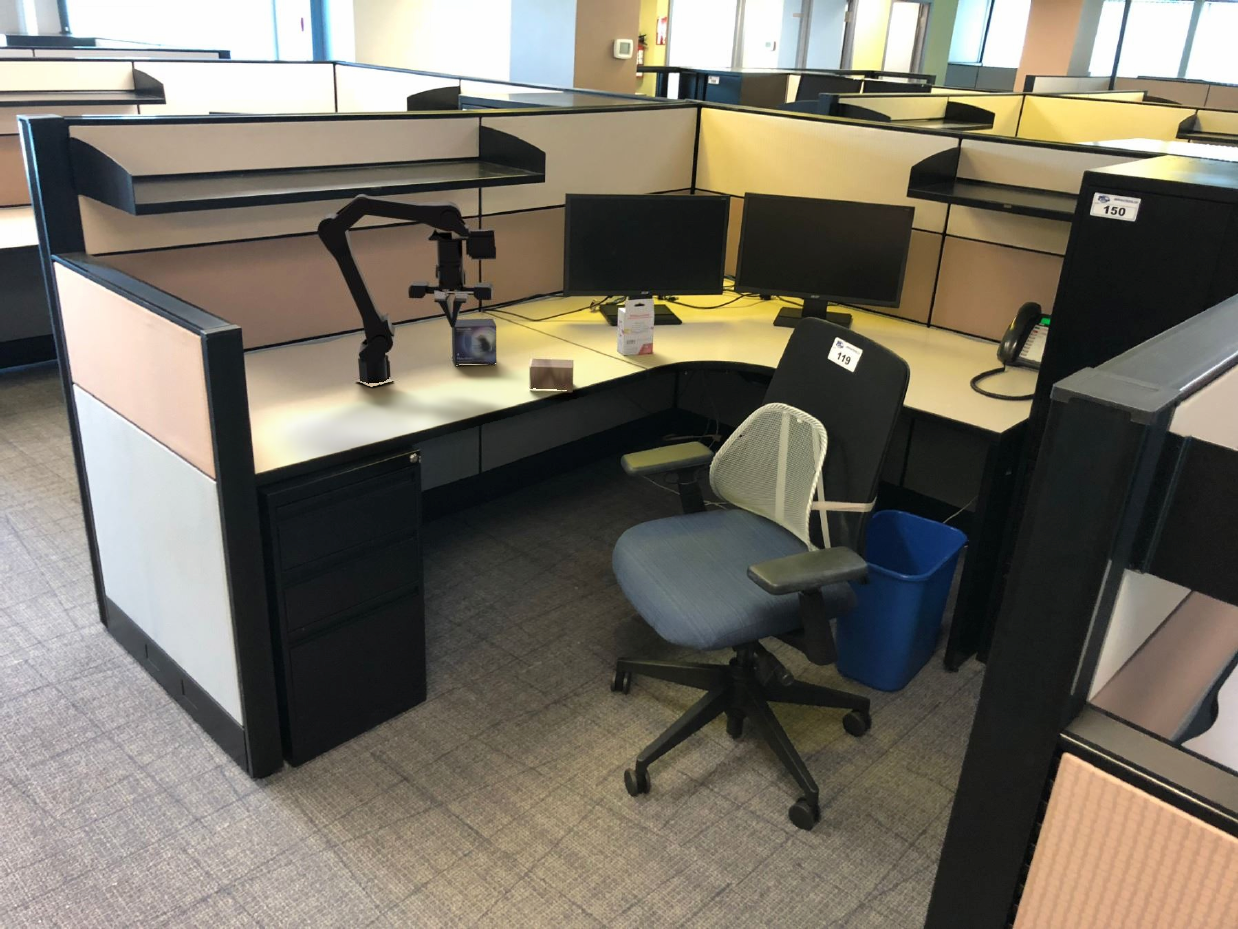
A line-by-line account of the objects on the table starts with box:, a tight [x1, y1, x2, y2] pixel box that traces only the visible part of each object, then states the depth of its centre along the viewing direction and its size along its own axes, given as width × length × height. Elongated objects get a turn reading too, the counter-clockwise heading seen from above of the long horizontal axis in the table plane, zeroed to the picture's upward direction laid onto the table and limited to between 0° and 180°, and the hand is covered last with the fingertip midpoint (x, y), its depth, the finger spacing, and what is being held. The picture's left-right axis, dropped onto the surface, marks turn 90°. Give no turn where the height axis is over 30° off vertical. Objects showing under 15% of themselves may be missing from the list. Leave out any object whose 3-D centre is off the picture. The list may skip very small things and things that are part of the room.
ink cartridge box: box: [616, 298, 655, 356], centre depth 252 cm, size 9×5×15 cm, turn 112°
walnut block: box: [528, 358, 574, 393], centre depth 226 cm, size 6×6×10 cm
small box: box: [451, 318, 497, 366], centre depth 240 cm, size 11×6×10 cm, turn 105°
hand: (453, 327), depth 223 cm, fingers closed
